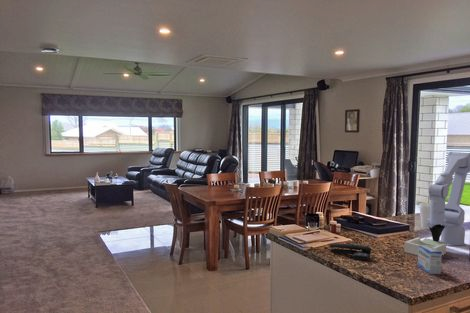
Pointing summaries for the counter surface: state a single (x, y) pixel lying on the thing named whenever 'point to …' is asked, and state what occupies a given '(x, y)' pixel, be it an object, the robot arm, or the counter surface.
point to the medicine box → (429, 259)
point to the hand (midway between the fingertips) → (435, 240)
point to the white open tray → (413, 247)
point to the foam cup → (424, 214)
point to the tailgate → (431, 242)
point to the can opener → (356, 254)
